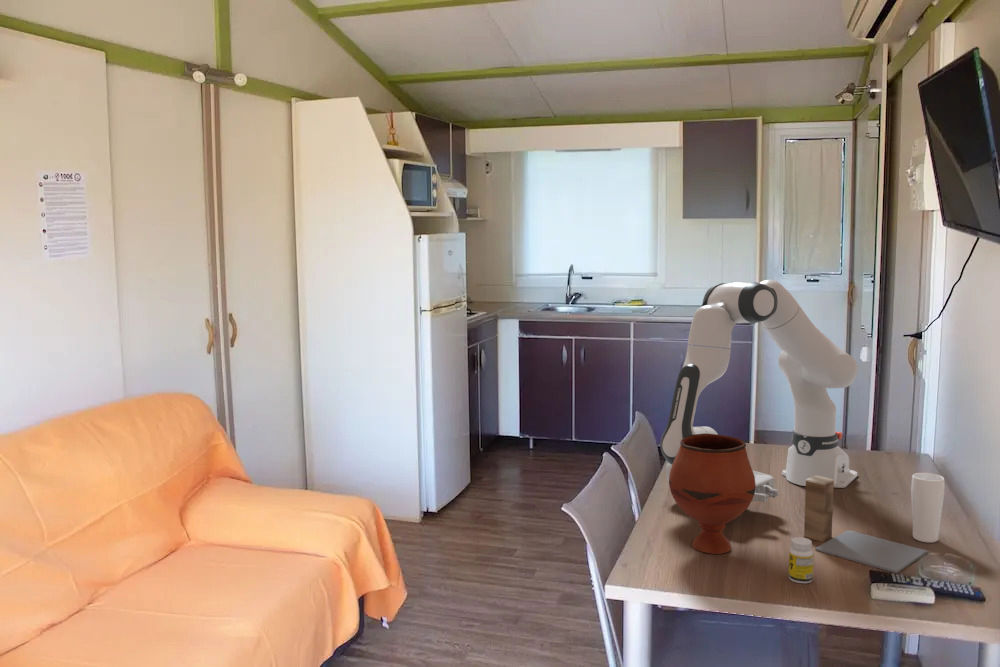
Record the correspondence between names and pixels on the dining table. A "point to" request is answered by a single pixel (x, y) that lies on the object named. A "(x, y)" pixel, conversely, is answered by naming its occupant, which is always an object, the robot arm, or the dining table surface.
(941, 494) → the drinking glass
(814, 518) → the light wooden block
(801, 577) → the supplement bottle
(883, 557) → the rubber mat
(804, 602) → the dining table surface
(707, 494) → the goblet
